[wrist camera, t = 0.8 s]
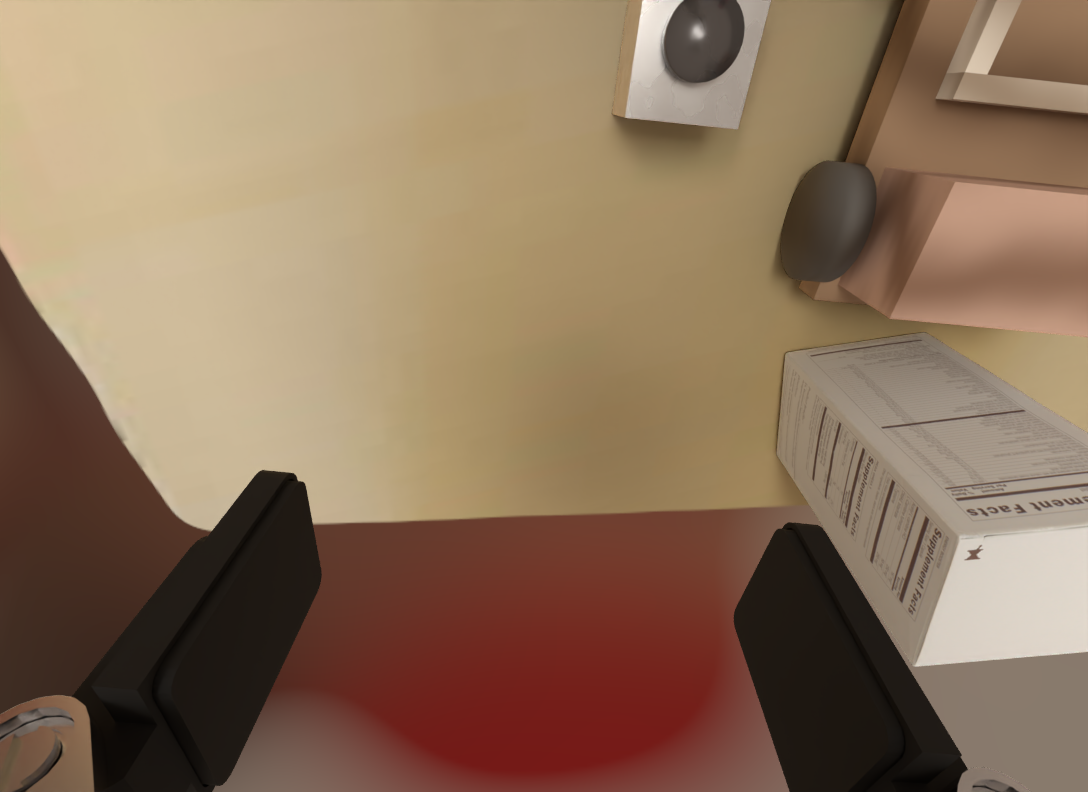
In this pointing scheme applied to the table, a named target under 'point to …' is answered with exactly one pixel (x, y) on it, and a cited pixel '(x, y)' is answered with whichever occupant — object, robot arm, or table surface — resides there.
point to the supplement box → (943, 496)
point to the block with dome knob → (688, 60)
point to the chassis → (961, 175)
